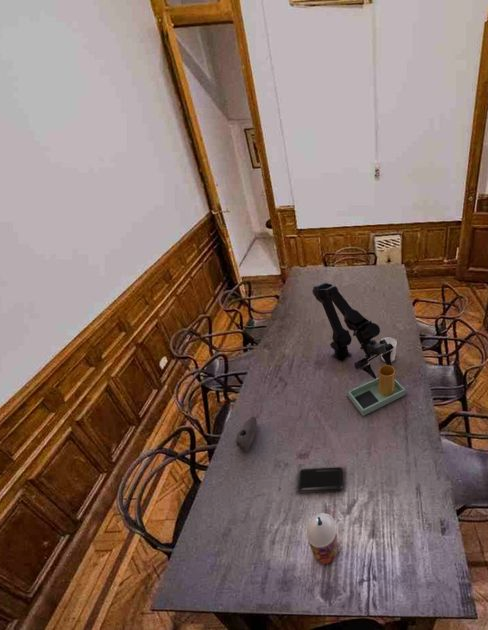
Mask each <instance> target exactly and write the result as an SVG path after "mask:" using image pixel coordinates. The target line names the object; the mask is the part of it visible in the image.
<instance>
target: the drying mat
mask: <svg viewBox="0 0 488 630" xmlns="http://www.w3.org/2000/svg"><path fill="white" fill-rule="evenodd" d="M354 398H355V399H356V400H357V401H358V403H359V404H360V405H361V407H362V408H363V409H365V408H367V407H369V406H371V405H373V404H375V403H377V402H379V401H378V399H377V398H376V397H375V396H374V395H373V394H372V392H371V391H370V390H369V391H367V392H365V393H363V394H361V395H359V396H357V397H354Z"/></svg>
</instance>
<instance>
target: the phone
mask: <svg viewBox="0 0 488 630" xmlns="http://www.w3.org/2000/svg"><path fill="white" fill-rule="evenodd" d="M343 488H344V469H343V468H342V467H340V466H339V467H317V468H302V469H300V471H299V475H298V485H297V490H298V492H299V493H300V494H301V493H324V492H325V493H326V492H341V491H342V490H343Z"/></svg>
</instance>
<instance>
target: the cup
mask: <svg viewBox="0 0 488 630" xmlns="http://www.w3.org/2000/svg"><path fill="white" fill-rule="evenodd" d="M378 378H379V393H380V394H381V395H382V396H386V397H388V396H391V395H393V393H394V386H395V379H396V369H395V368H394V366H393V365H392V366H390V365H387V364H384V365H381V366H380V367H379V368H378Z"/></svg>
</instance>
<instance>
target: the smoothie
mask: <svg viewBox="0 0 488 630" xmlns="http://www.w3.org/2000/svg"><path fill="white" fill-rule="evenodd" d="M337 532H338V526H337V522H336V520H335V518H334V517H333V516H331V515H330V514H328V513H318V514H315V515H314V516H312V517H311V518H310V520H309V521H308V522H307V524H306V526H305V538H306V540H307V542H308V544H309V547H310V549H311V552H312V554H313V557H314V558H315V560H316V561H317V562H318V563H319V564H322V565H327V564H329V563H331V562H332V561H334V559H335V557H336V556H337V553H338V533H337Z"/></svg>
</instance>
